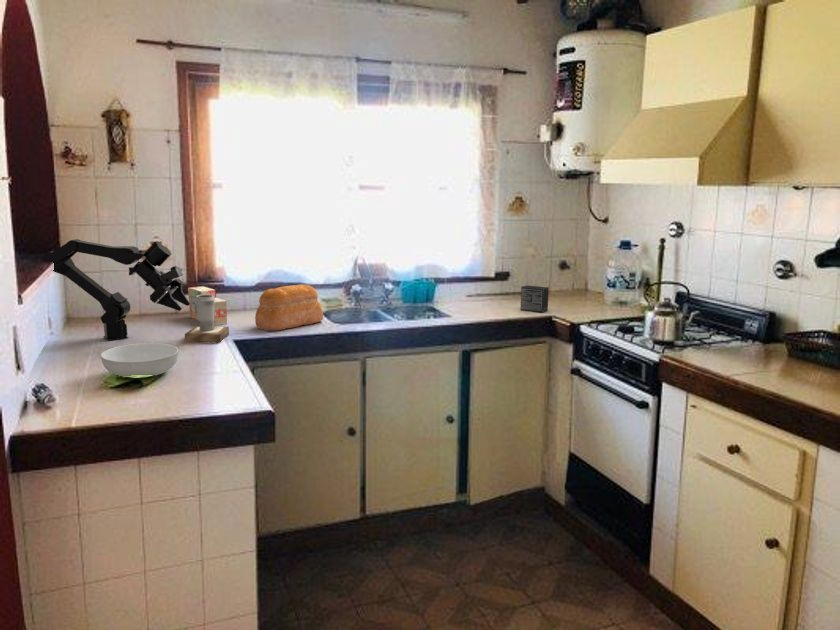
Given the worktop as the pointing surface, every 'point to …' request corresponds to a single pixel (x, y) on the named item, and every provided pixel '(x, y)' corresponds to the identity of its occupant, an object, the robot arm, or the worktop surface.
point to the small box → (534, 298)
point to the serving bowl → (140, 359)
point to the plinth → (206, 335)
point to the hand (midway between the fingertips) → (184, 307)
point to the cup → (205, 312)
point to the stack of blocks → (219, 304)
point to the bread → (288, 307)
